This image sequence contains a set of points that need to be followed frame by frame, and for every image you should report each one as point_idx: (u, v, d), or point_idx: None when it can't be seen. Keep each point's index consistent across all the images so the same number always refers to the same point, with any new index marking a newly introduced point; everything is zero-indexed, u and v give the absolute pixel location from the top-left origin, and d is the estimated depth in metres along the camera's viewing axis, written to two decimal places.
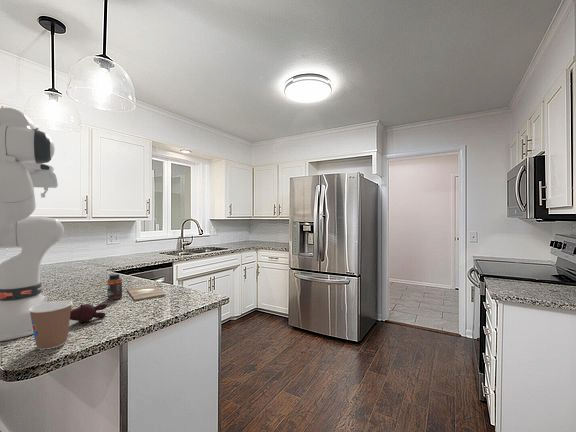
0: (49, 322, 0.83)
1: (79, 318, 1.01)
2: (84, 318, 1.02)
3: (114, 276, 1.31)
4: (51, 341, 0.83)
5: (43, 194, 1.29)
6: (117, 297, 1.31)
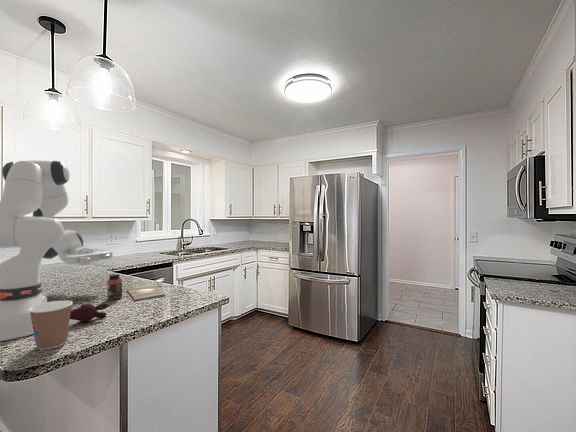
0: (49, 322, 0.83)
1: (80, 318, 1.02)
2: (85, 318, 1.02)
3: (114, 276, 1.31)
4: (51, 341, 0.83)
5: (107, 254, 1.43)
6: (117, 297, 1.31)
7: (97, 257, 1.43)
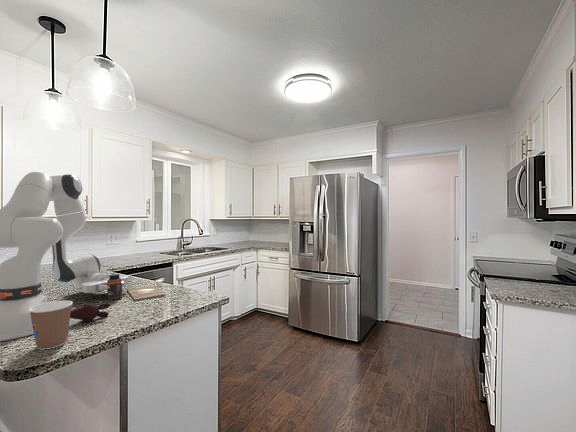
0: (49, 322, 0.83)
1: (82, 317, 1.03)
2: (87, 317, 1.03)
3: (114, 276, 1.31)
4: (51, 341, 0.83)
5: (122, 281, 1.37)
6: (117, 297, 1.31)
7: None
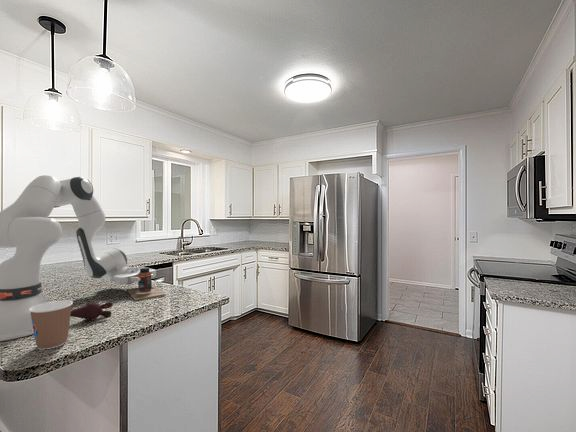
0: (50, 322, 0.83)
1: (85, 316, 1.04)
2: (90, 316, 1.04)
3: (145, 269, 1.39)
4: (52, 341, 0.83)
5: (151, 274, 1.45)
6: (147, 289, 1.39)
7: None
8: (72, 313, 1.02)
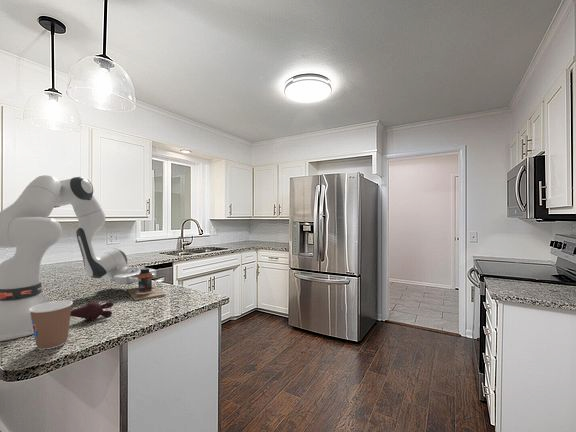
0: (50, 322, 0.83)
1: (85, 316, 1.04)
2: (90, 316, 1.04)
3: (145, 270, 1.39)
4: (52, 341, 0.83)
5: (153, 273, 1.46)
6: (148, 290, 1.39)
7: None
8: (73, 313, 1.02)
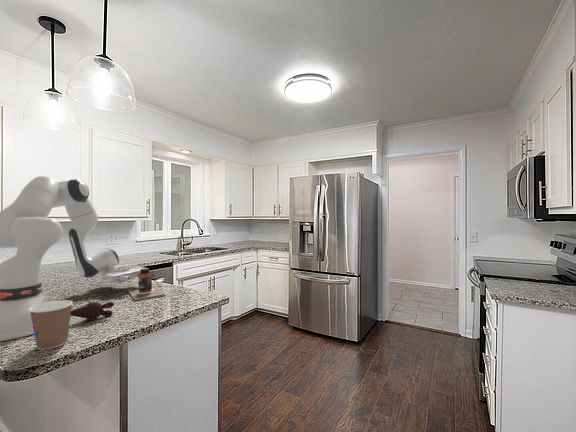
0: (50, 322, 0.83)
1: (86, 315, 1.04)
2: (91, 316, 1.04)
3: (145, 270, 1.39)
4: (52, 341, 0.83)
5: None
6: (148, 290, 1.39)
7: (134, 275, 1.48)
8: (73, 313, 1.03)
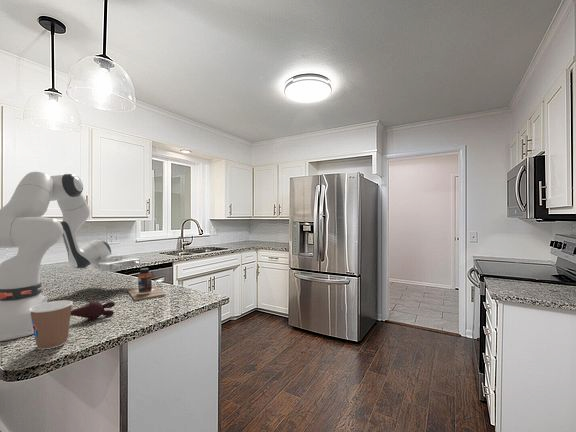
0: (50, 322, 0.83)
1: (87, 315, 1.04)
2: (92, 315, 1.04)
3: (144, 270, 1.39)
4: (52, 341, 0.83)
5: (136, 262, 1.51)
6: (147, 290, 1.39)
7: (127, 264, 1.50)
8: (74, 312, 1.03)
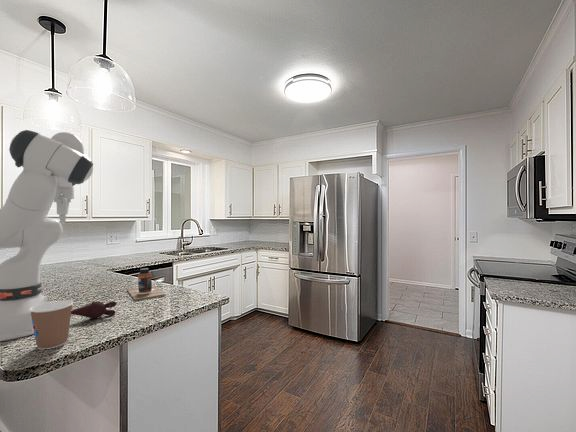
0: (50, 322, 0.83)
1: (89, 315, 1.05)
2: (93, 315, 1.05)
3: (144, 270, 1.39)
4: (52, 341, 0.83)
5: None
6: (147, 290, 1.39)
7: None
8: (76, 312, 1.04)
